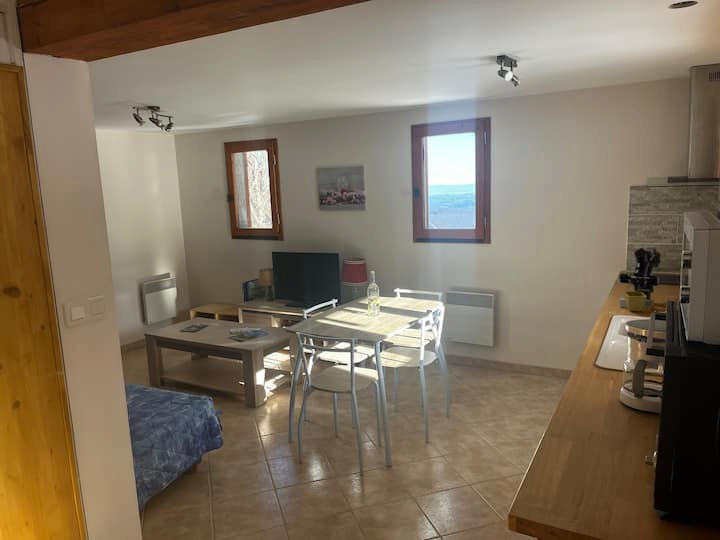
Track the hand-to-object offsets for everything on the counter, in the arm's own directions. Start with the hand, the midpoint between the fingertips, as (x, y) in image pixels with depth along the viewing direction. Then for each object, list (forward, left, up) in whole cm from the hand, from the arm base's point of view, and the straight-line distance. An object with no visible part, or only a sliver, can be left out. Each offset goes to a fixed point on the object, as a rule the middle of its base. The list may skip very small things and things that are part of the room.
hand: (635, 291), depth 286 cm
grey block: (+2, -6, -10) cm, 12 cm away
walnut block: (-7, 0, -10) cm, 12 cm away
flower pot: (+3, +3, -9) cm, 10 cm away
